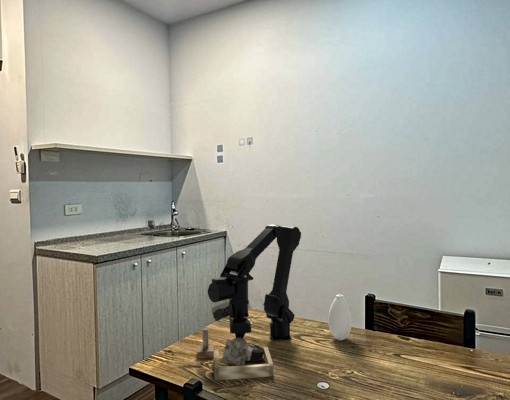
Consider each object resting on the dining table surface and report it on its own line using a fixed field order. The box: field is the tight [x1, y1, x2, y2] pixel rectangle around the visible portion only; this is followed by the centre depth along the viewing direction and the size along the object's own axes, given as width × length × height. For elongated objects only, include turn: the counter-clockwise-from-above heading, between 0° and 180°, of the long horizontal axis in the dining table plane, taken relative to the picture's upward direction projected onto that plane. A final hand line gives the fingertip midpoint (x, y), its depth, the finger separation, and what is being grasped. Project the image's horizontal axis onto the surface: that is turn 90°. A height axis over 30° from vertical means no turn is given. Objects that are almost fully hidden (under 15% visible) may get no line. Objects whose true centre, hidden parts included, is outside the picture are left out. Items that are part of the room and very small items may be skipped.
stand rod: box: [196, 327, 215, 359], centre depth 115 cm, size 5×5×8 cm
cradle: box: [213, 346, 275, 381], centre depth 106 cm, size 16×12×3 cm
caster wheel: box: [221, 337, 264, 366], centre depth 111 cm, size 7×11×10 cm
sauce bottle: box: [327, 287, 353, 341], centre depth 125 cm, size 8×8×18 cm
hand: (238, 344), depth 115 cm, fingers closed
